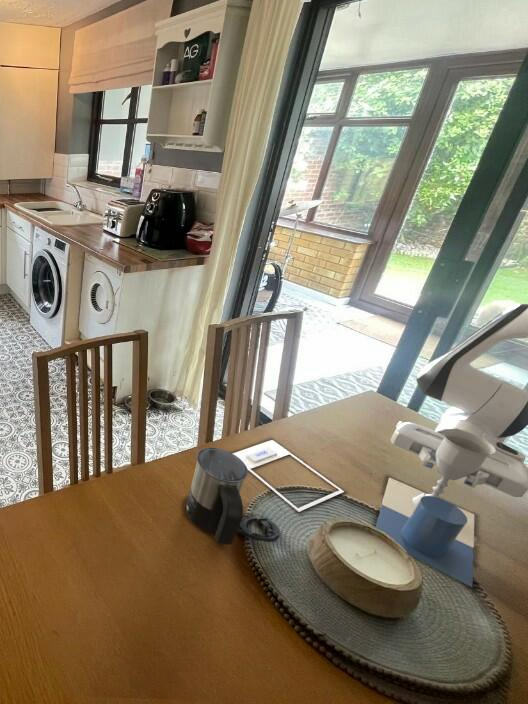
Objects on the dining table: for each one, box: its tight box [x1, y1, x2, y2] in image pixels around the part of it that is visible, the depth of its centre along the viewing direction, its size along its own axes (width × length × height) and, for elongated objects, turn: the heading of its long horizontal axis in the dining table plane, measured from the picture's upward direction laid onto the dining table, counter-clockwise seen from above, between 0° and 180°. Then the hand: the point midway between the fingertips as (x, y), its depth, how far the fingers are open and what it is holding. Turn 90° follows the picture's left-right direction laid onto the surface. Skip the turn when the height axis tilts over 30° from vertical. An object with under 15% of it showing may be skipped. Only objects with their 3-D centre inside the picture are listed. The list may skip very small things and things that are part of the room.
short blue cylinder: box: [402, 496, 467, 557], centre depth 78 cm, size 6×6×9 cm
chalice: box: [412, 429, 496, 506], centre depth 83 cm, size 7×7×18 cm
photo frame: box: [232, 439, 345, 513], centre depth 96 cm, size 15×1×18 cm
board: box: [375, 477, 476, 588], centre depth 84 cm, size 22×14×1 cm, turn 134°
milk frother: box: [185, 447, 281, 546], centre depth 82 cm, size 14×16×15 cm
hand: (449, 474), depth 82 cm, fingers closed on chalice, 5 cm apart
